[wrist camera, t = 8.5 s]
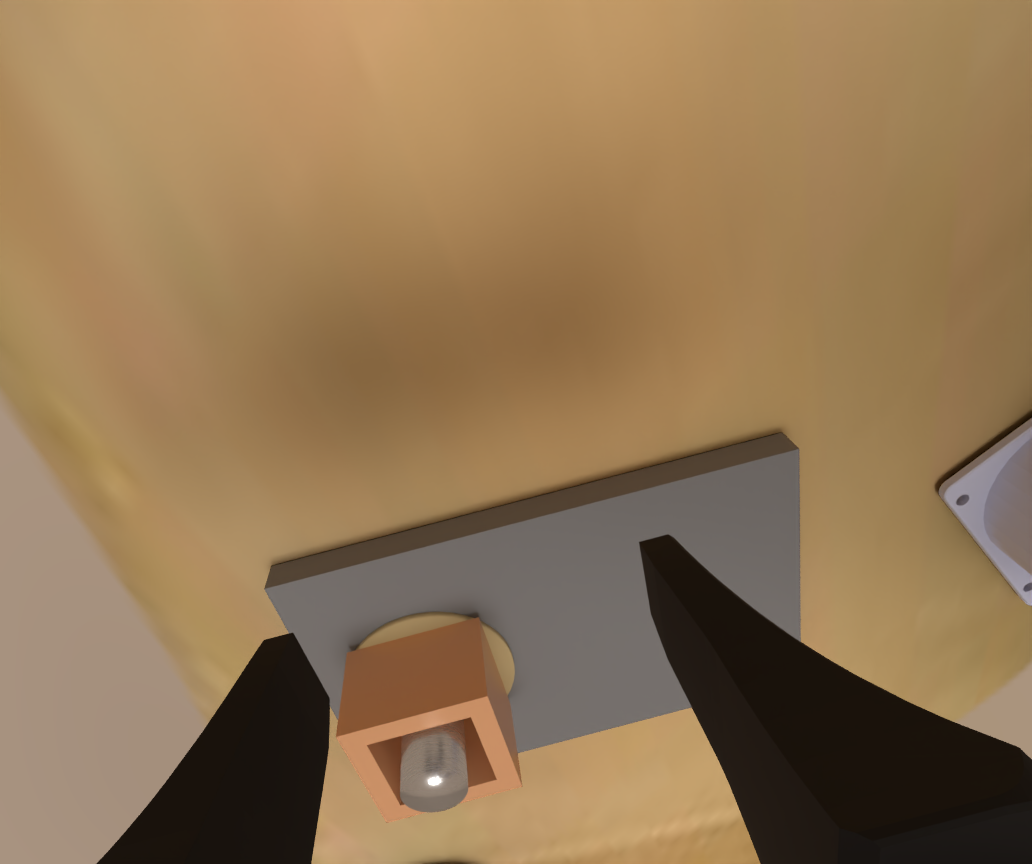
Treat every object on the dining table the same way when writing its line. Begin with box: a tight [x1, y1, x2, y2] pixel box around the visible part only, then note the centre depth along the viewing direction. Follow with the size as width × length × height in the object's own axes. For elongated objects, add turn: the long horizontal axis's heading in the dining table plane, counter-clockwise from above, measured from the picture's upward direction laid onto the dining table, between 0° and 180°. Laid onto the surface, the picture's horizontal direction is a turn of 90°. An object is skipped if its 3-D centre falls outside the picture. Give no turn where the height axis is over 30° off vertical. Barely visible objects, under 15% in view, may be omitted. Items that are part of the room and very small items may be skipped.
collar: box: [336, 617, 522, 823], centre depth 24 cm, size 5×5×4 cm
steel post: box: [400, 719, 468, 812], centre depth 24 cm, size 2×2×6 cm
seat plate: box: [264, 433, 801, 753], centre depth 26 cm, size 19×12×2 cm, turn 103°
